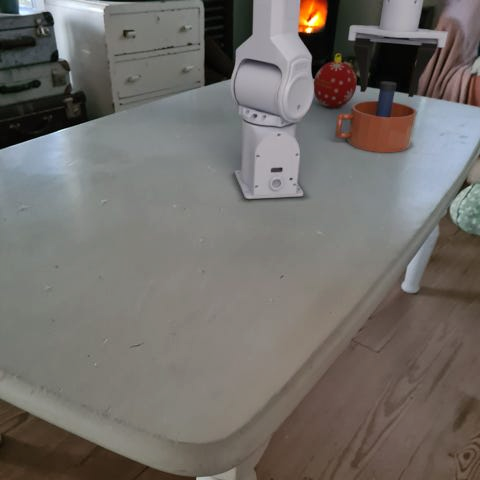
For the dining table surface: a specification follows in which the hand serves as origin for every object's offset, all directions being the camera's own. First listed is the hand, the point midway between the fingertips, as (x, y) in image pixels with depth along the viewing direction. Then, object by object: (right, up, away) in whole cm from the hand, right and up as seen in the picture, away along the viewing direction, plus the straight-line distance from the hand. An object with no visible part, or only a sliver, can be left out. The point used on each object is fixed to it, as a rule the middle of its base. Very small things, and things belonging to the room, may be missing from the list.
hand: (386, 93), depth 84 cm
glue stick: (0, -6, +4) cm, 8 cm away
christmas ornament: (-5, +7, +23) cm, 24 cm away
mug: (-1, -7, +5) cm, 8 cm away
